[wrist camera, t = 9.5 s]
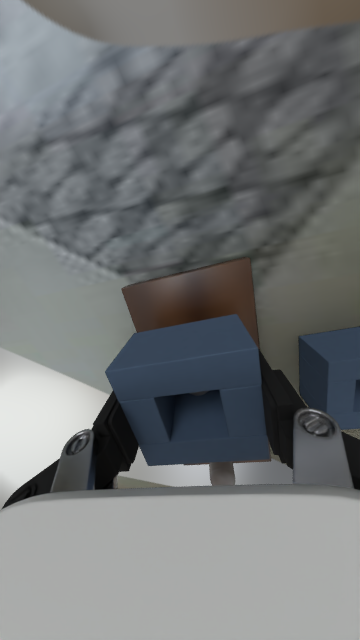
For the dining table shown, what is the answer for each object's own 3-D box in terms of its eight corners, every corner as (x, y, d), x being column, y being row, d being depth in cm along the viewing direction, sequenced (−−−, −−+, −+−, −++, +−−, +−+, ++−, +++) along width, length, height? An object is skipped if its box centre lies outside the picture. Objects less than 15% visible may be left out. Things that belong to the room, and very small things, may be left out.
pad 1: (237, 313, 11) (258, 347, 7) (249, 398, 13) (270, 459, 9) (133, 333, 12) (103, 371, 8) (161, 408, 14) (147, 466, 10)
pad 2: (385, 322, 15) (449, 346, 11) (375, 385, 17) (425, 424, 13) (298, 336, 16) (329, 362, 12) (299, 393, 18) (325, 431, 14)
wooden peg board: (245, 256, 14) (286, 262, 7) (266, 447, 21) (296, 534, 15) (127, 285, 16) (77, 309, 9) (184, 452, 23) (179, 532, 16)
